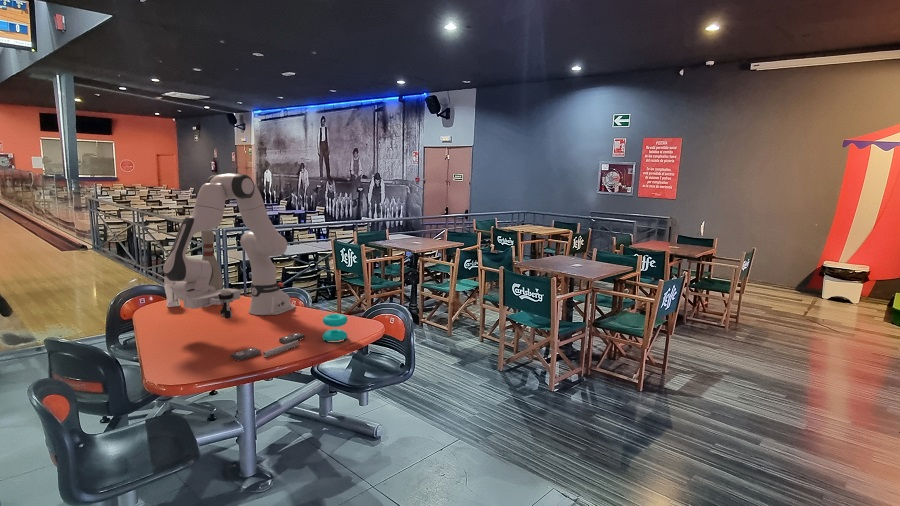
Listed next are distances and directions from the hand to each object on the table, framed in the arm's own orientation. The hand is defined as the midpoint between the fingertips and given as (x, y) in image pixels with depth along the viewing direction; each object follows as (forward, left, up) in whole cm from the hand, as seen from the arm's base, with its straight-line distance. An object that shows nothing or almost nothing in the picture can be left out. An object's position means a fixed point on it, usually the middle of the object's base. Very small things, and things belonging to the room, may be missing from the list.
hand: (226, 301), depth 185 cm
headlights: (-8, +17, -18) cm, 26 cm away
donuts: (-30, +28, -18) cm, 45 cm away
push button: (0, -1, -6) cm, 7 cm away
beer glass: (-20, -69, -18) cm, 74 cm away
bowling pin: (-33, -59, -18) cm, 70 cm away
